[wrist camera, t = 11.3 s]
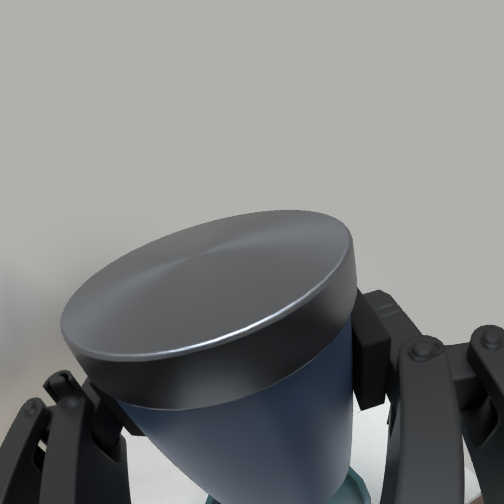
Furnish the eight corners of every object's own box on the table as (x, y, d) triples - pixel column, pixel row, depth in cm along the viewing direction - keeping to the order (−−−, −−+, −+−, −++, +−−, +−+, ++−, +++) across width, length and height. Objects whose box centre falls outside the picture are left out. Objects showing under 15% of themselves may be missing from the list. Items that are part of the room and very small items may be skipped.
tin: (376, 495, 7) (433, 271, 3) (205, 533, 6) (6, 372, 3) (328, 388, 13) (297, 197, 10) (202, 419, 13) (115, 249, 10)
